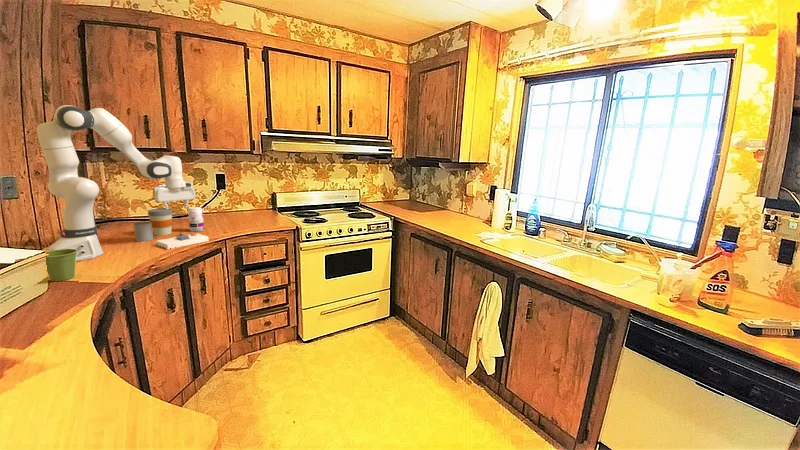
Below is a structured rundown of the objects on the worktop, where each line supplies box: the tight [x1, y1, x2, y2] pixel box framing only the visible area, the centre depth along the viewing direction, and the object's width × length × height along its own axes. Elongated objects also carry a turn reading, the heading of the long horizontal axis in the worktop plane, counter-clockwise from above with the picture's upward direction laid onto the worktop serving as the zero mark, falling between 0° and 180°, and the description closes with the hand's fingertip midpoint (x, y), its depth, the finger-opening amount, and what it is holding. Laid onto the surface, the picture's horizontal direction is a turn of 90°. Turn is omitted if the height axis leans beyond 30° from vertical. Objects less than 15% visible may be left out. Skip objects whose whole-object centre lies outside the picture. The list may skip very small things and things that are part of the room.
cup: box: [133, 221, 155, 243], centre depth 206 cm, size 8×8×10 cm
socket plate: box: [155, 232, 210, 250], centre depth 202 cm, size 22×13×3 cm, turn 146°
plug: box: [175, 232, 189, 241], centre depth 202 cm, size 4×6×6 cm
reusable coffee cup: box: [147, 207, 173, 236], centre depth 220 cm, size 12×13×15 cm
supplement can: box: [187, 206, 205, 233], centre depth 230 cm, size 8×8×15 cm
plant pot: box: [44, 249, 78, 282], centre depth 146 cm, size 12×12×11 cm
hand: (176, 208), depth 203 cm, fingers open, 8 cm apart
